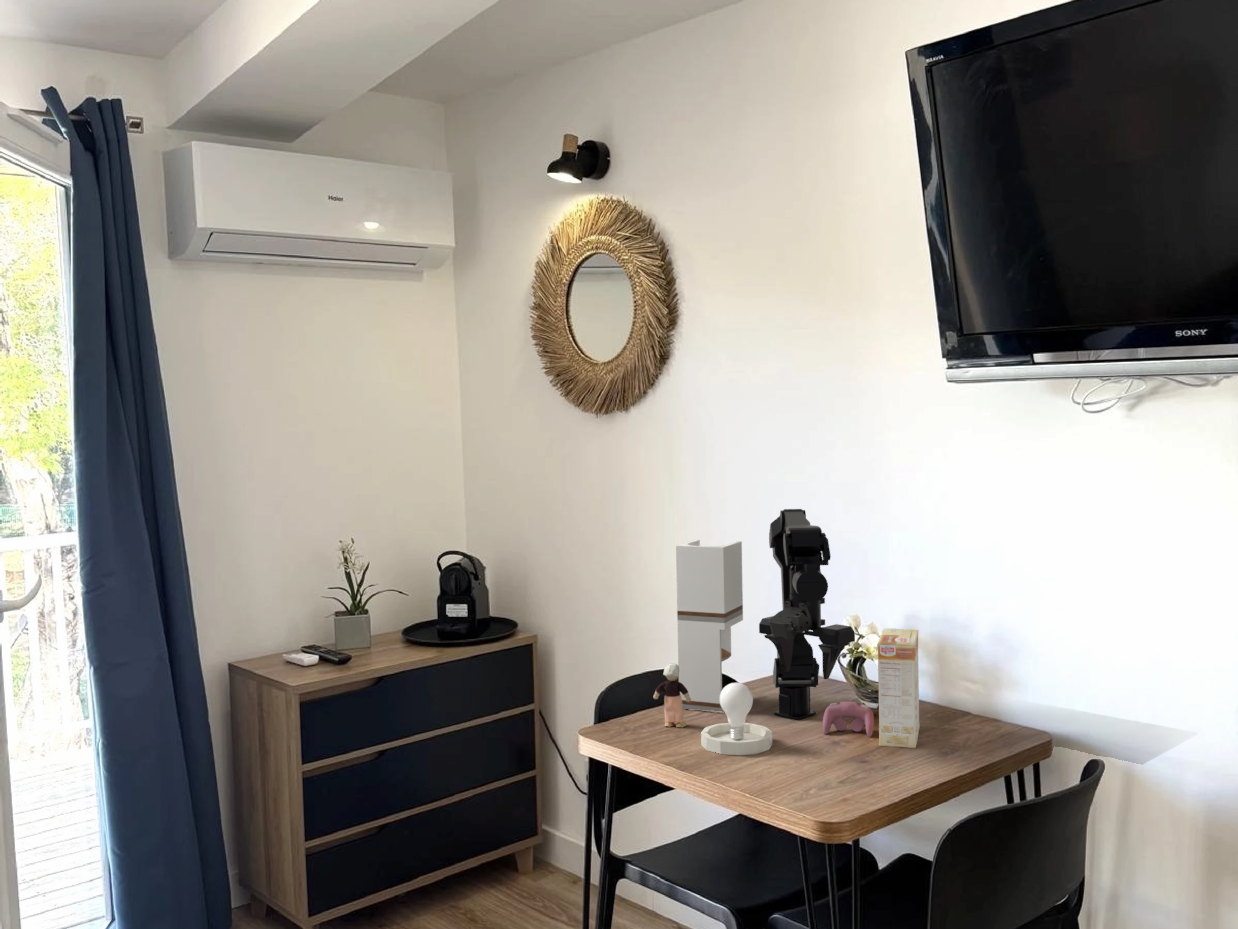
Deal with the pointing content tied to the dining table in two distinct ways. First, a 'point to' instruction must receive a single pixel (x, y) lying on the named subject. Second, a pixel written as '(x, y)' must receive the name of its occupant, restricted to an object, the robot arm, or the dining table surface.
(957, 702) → the dining table surface
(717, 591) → the white tower with stripe
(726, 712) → the lightbulb
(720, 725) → the dish
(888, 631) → the coffeecake box
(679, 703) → the grandmother figurine
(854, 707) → the video game controller
